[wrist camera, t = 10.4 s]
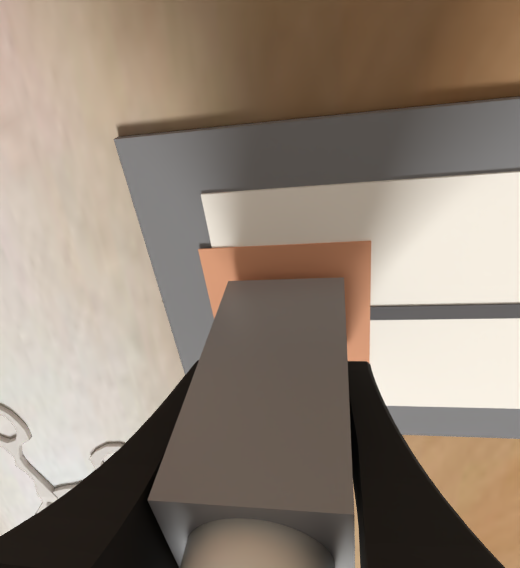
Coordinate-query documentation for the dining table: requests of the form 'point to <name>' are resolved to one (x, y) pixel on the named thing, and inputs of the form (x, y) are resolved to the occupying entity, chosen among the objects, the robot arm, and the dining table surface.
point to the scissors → (41, 484)
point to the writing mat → (357, 242)
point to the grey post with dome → (264, 435)
